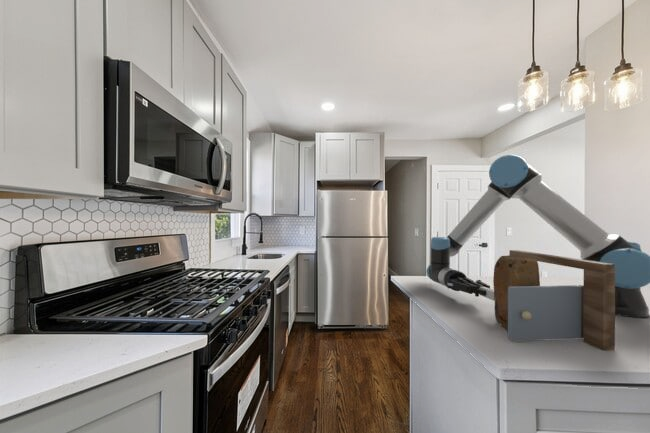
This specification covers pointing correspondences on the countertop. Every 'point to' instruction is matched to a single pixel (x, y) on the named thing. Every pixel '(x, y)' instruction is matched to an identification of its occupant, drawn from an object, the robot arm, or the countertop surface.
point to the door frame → (590, 297)
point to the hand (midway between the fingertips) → (496, 296)
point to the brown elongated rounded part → (512, 281)
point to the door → (545, 312)
